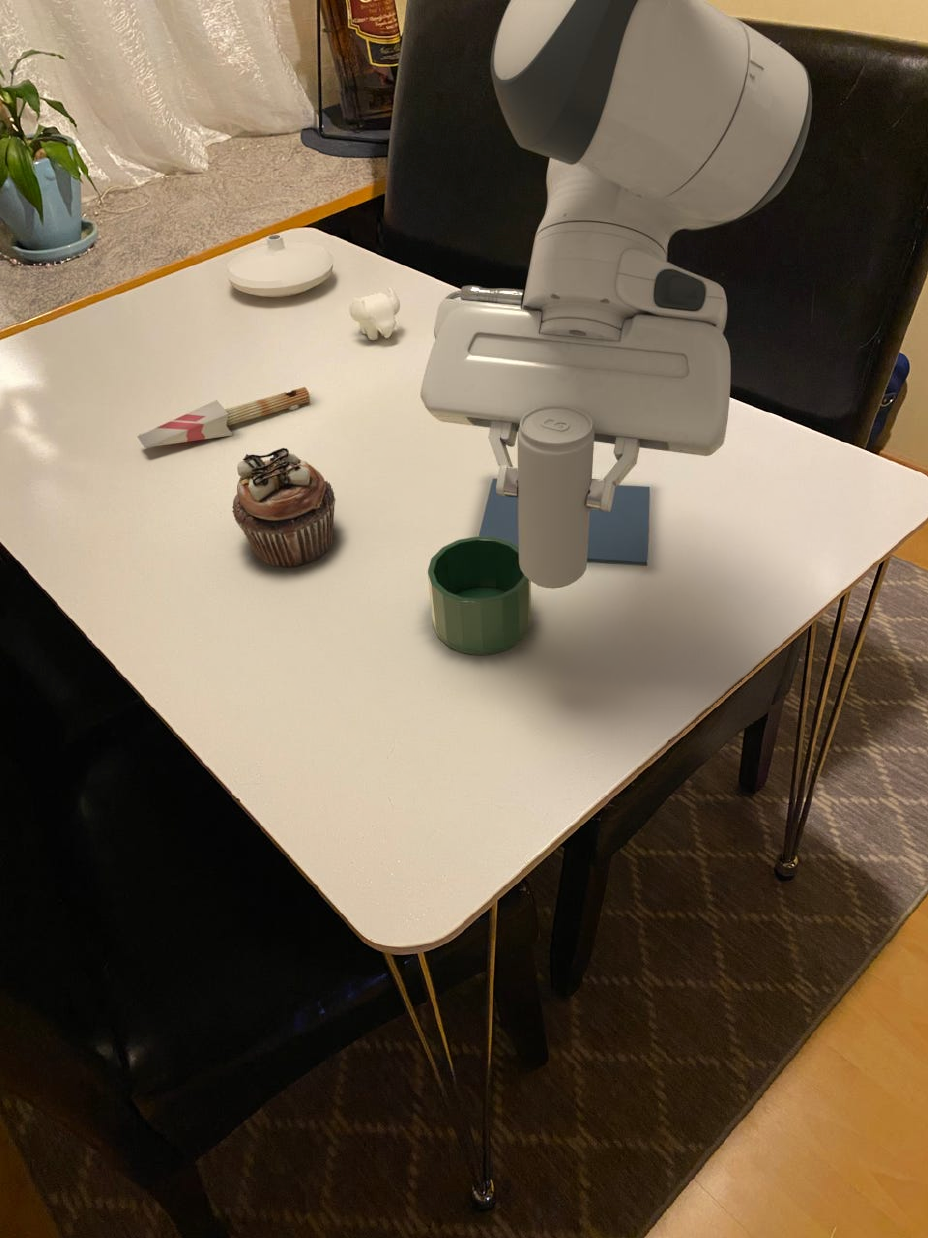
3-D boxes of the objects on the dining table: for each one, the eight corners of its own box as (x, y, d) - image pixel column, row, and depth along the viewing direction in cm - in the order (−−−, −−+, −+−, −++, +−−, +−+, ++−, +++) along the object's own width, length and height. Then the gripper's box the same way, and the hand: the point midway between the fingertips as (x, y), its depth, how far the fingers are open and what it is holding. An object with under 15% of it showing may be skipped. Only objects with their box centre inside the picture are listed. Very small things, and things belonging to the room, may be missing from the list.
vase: (288, 317, 125) (278, 266, 120) (207, 295, 131) (195, 246, 127) (358, 275, 134) (351, 227, 129) (279, 257, 141) (270, 210, 136)
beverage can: (567, 600, 62) (573, 452, 53) (506, 578, 64) (503, 432, 55) (597, 561, 65) (608, 414, 56) (538, 541, 66) (540, 396, 58)
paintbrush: (132, 422, 100) (299, 377, 107) (138, 444, 101) (302, 398, 109) (142, 437, 97) (312, 390, 105) (148, 459, 99) (315, 411, 106)
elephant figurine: (368, 354, 116) (362, 309, 111) (342, 331, 121) (335, 287, 117) (414, 339, 118) (410, 295, 114) (387, 317, 123) (382, 274, 119)
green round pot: (535, 592, 80) (535, 539, 76) (524, 659, 74) (523, 606, 70) (443, 585, 82) (438, 533, 78) (425, 650, 76) (419, 598, 72)
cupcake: (360, 546, 87) (346, 458, 80) (270, 587, 83) (247, 499, 76) (313, 500, 92) (296, 415, 86) (227, 537, 89) (202, 451, 82)
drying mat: (649, 489, 91) (649, 486, 91) (646, 565, 82) (647, 562, 82) (493, 481, 93) (492, 478, 93) (475, 554, 85) (475, 550, 85)
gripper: (429, 263, 59) (391, 471, 59) (751, 290, 54) (709, 518, 54) (454, 300, 65) (419, 488, 65) (746, 328, 60) (707, 532, 60)
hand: (553, 502), depth 59 cm, fingers closed on beverage can, 5 cm apart
